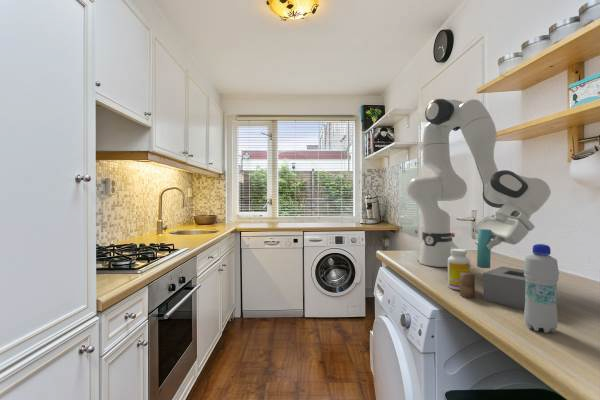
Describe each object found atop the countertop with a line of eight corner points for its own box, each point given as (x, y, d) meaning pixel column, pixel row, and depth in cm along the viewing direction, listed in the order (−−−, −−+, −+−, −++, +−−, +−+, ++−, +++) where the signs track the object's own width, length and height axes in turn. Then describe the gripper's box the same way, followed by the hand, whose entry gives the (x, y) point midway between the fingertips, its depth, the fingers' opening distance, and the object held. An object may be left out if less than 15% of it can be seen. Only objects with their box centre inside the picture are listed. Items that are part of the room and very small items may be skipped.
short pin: (463, 293, 103) (464, 271, 103) (477, 296, 100) (477, 273, 100) (457, 295, 101) (457, 273, 101) (470, 299, 98) (471, 276, 97)
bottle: (563, 330, 76) (563, 244, 75) (552, 337, 72) (553, 247, 71) (529, 321, 81) (530, 241, 81) (518, 327, 77) (518, 243, 77)
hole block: (501, 291, 105) (501, 266, 105) (550, 301, 95) (550, 274, 95) (483, 299, 97) (483, 273, 97) (534, 312, 87) (535, 282, 87)
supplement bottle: (472, 291, 105) (472, 251, 105) (450, 290, 106) (450, 251, 106) (466, 285, 112) (466, 248, 111) (445, 284, 113) (445, 247, 113)
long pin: (480, 264, 116) (480, 228, 115) (492, 267, 113) (493, 229, 112) (475, 266, 113) (475, 229, 113) (487, 269, 110) (488, 230, 109)
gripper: (485, 209, 123) (459, 235, 123) (525, 214, 102) (494, 245, 102) (496, 220, 123) (471, 246, 123) (539, 228, 103) (508, 259, 103)
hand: (482, 246), depth 113 cm, fingers closed on long pin, 4 cm apart
